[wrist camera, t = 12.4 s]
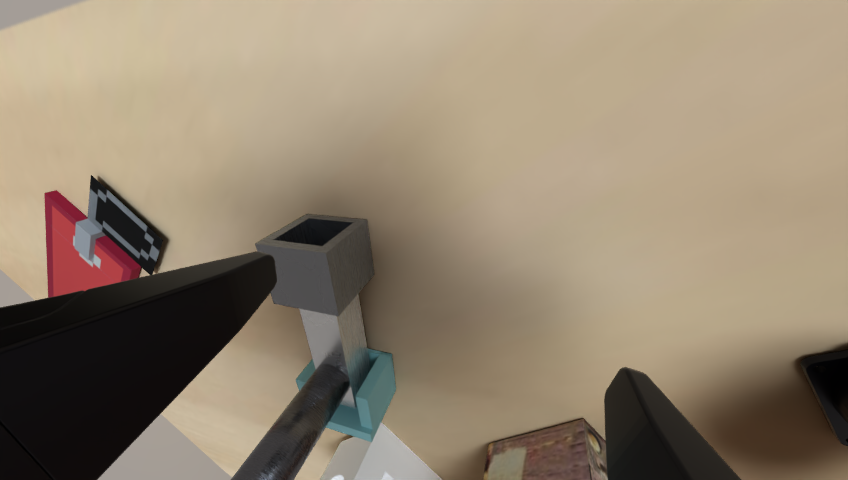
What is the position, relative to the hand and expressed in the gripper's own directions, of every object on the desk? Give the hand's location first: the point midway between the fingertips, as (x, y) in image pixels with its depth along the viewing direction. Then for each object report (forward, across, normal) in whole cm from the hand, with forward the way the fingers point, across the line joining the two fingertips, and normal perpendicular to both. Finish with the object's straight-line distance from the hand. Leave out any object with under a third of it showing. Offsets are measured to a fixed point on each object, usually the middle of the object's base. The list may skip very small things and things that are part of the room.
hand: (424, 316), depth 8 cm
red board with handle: (+13, +41, +21) cm, 48 cm away
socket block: (+12, +7, +19) cm, 24 cm away
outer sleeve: (+12, +10, +7) cm, 17 cm away
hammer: (+11, +8, +14) cm, 20 cm away
